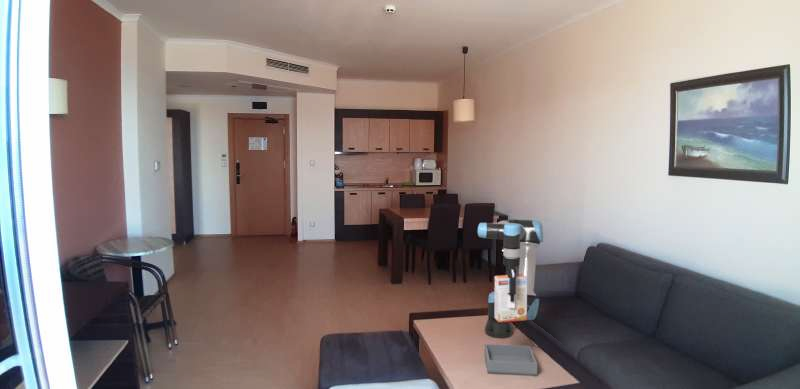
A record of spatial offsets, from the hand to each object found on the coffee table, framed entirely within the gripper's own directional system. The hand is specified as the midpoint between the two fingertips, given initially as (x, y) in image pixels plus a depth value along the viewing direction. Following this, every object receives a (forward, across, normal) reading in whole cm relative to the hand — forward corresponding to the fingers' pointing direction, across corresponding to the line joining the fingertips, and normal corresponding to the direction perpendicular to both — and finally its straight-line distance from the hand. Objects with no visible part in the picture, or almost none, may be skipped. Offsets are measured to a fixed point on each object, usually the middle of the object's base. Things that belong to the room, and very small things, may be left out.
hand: (510, 304), depth 207 cm
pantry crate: (+30, 0, 0) cm, 30 cm away
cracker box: (+7, 0, 0) cm, 7 cm away
